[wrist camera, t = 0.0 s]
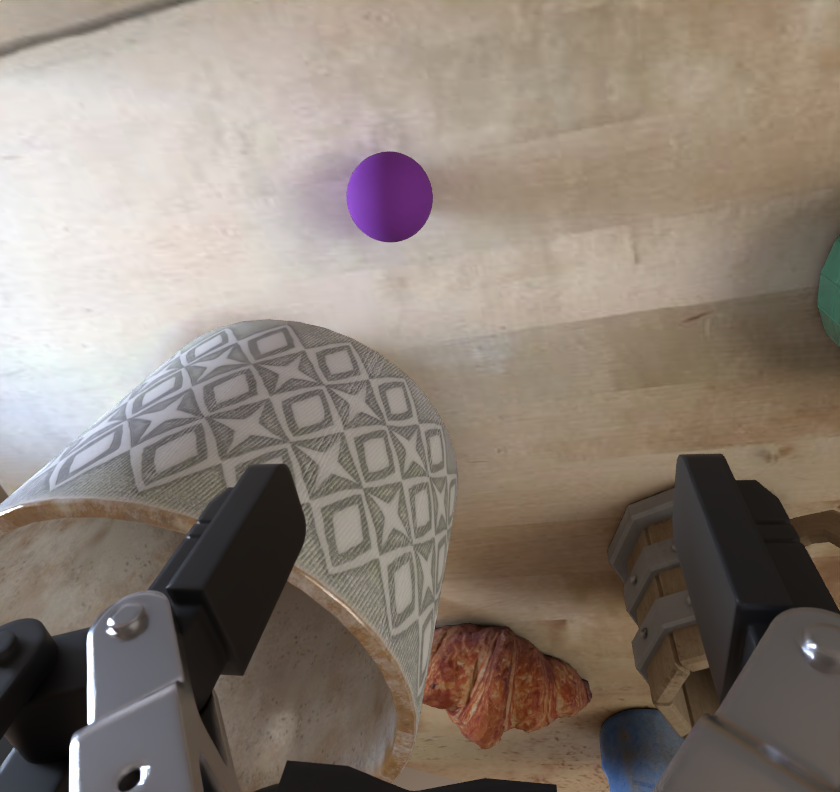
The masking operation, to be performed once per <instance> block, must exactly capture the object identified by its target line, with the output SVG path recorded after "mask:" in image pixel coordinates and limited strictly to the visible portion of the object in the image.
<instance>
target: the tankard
mask: <svg viewBox="0 0 840 792" xmlns="http://www.w3.org/2000/svg"><path fill="white" fill-rule="evenodd" d="M674 490H675V488H672V489H670V490H667V491H665V492H662V493H659V494H657V495H654V496H652V497H649V498H646V499H644V500H641V501H639V502H636V503H633V504H631V505H628V507H627V509H626V512H625V514H624V516H623V518H622V520H621V522H620V525H619V527H618V529H617V531H616V533H615V535H614V538H613V540H612V542H611V544H610V546H609V548H608V551H607V552H608V559H609V563H610V564H611V566H612V567H613V569H614V570H615V571H616V573H617V574H618V576H619V577H620V578H621V580H622V581H623V582H624V584H625V586H624V588H623V593H624V599H625V605H626V611H627V612H628V613H629V615H630V616H631V617H632V619H633V620H634V621H635V623H636V624H637V625H638V627H639V630H638V632H637V634H636V635H635V637H634V639H633V641H632V647H633V653H634V659H635V665H636V669H637V670H638V671H639V672H640V674H641V675H642V676H643V678H644V679H645V680H646V682H647V683H648V684H649V686H650V691H651V696H652V702H653V704H654V705H655V706H656V708H657V709H658V710H659V712H660V713H661V714H662V715H663V717H664V718H665V719H666V721H667V722H668V723H669V724H670V726H671V727H672V728H673V730H674V731H675V732H676V733H677V735H678V736H680V737H682V738H684V739H686V737H687V735H688V734H689V732H690V731H691V729H692V728H693V726H694V725H695V723H696V722H697V721H698V720H699V718H700V717H701V716H702V715H704V714H706V713H708V714H710V715H711V716H712V715H713V714H714V713H715V712H716V711H717V709H718V708H719V706H720V703H719V700H718V696H717V692H716V689H715V685H714V682H713V678H712V675H711V671H710V668H709V664H708V661H707V657H706V654H705V650H704V647H703V643H702V640H701V636H700V633H699V629H698V626H697V622H696V619H695V615H694V612H693V608H692V605H691V601H690V598H689V594H688V591H687V587H686V584H685V580H684V576H683V573H682V569H681V566H680V562H679V559H678V555H677V552H676V548H675V543H674V537H673V524H672V517H673V503H674ZM790 524H791V525H793V526H794V528H795V530H796V532H797V534H798V535H799V537H800V542H801V543H803V545H804V547H805V546H808V545H810V544H814V543H823V542H830V543H832V544H834V545H836V546H838V547H839V548H840V513H839V512H837V511H834V510H829V511H824V512H819V513H815V514H810V515H805V516H800V517H796V518H793V519H790Z"/></svg>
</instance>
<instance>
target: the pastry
mask: <svg viewBox="0 0 840 792" xmlns="http://www.w3.org/2000/svg"><path fill="white" fill-rule="evenodd" d="M591 698H592V693H591V691H590V689H589V684H588V681H587V680H584V679H581V678H580V676H579V675H578V673H577V672H576V670H575V669H574V668H573V667H572V666H570V665H569V664H568V663H565V662H564V661H562V660H560V659H557V658H554V657H551V656H549V655H543V654H542V653H541V651H539V650H538V649H537V648H536V647H535V646H534V645H533V644H532V643H531V642H529V641H528V640H526V639H524V638H521V637H518V636H517V635H515V634H514V633H513V631H512V630H511V629H510V628H509V627H506V626H504V627H499V626H492V627H488V626H480V625H473V624H471V623H464V624H461V625H453V626H445V627H441V628H438V629H434V635H433V641H432V647H431V653H430V659H429V665H428V671H427V677H426V683H425V689H424V695H423V701H422V703H423V704H426V705H429V706H431V707H436V708H438V709H446V711H447V713H448V715H449V717H450V719H451V720H452V722H454V723H456V724H457V726H458V727H459V729H460V731H461V733H462V734H463V735H464V736H465V737H466V738H468V739H469V740H471V741H472V742H475V743H476V744H477V745H479V747H480V748H481V749H488V748H491V747H493V746H494V745H495V744H496V743H497V742H499V741H500V740H501V736H502V734H503V732H506V731H508V730H509V729H511V728H516V729H523V730H524V731H525V732H528V733H529V732H532V731H535V730H538V729H540V728H541V727H544V726H548V725H549V723H550V722H552V721H555V720H556V719H557V718H562V717H565V716H571V715H576V714H577V713H578V711H579V710H582V709H583V708H584V707H585V706H586V705H587V704H588V703H589V702H590V700H591Z"/></svg>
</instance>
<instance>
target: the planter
mask: <svg viewBox="0 0 840 792" xmlns="http://www.w3.org/2000/svg"><path fill="white" fill-rule="evenodd" d="M282 463H284V464H286V465H287V466H288V467H289V469H290V471H291V474H292V478H293V481H294V484H295V487H296V490H297V493H298V496H299V500H300V503H301V506H302V509H303V512H304V515H305V520H306V536H305V541H304V544H303V547H302V549H301V551H300V553H299V556H298V558H297V560H296V562H295V564H294V567H293V569H292V571H291V573H290V575H289V577H288V580H287V582H286V584H285V586H284V588H283V590H282V593H281V595H280V597H279V599H278V601H277V603H276V606H275V608H274V610H273V612H272V614H271V617H270V619H269V621H268V623H267V625H266V627H265V630H264V632H263V634H262V636H261V638H260V640H259V643H258V645H257V647H256V649H255V651H254V654H253V656H252V658H251V660H250V662H249V664H248V667H247V669H246V671H245V673H244V675H243V676H235V675H220V677H219V679H218V681H217V683H216V685H215V687H214V690H215V692H216V694H217V697H218V701H219V705H220V709H221V713H222V718H223V722H224V726H225V730H226V735H227V739H228V743H229V747H230V751H231V756H232V760H233V764H234V768H235V773H236V776H237V780H238V783H239V786H240V789H241V792H254V791H256V790H258V789H261V788H264V787H267V786H270V785H273V784H278V783H279V782H280V779H281V776H282V773H283V770H284V767H285V765H286V762H287V760H290V761H301V762H312V763H323V764H334V765H345V766H350V767H352V768H355V769H357V770H360V771H362V772H364V773H367V774H369V775H372V776H374V777H376V778H379V779H381V780H384V781H386V782H389V783H391V782H392V781H394V780H395V779H396V778H397V777H398V776H399V775H400V773H401V771H402V770H403V768H404V767H405V766H406V764H407V763H408V761H409V759H410V757H411V753H412V750H413V747H414V744H415V740H416V736H417V730H418V725H419V719H420V713H421V707H422V701H423V695H424V689H425V683H426V677H427V671H428V665H429V659H430V653H431V647H432V641H433V635H434V629H435V623H436V617H437V611H438V605H439V600H440V594H441V588H442V582H443V576H444V570H445V564H446V558H447V552H448V546H449V540H450V534H451V528H452V522H453V516H454V510H455V504H456V498H457V486H458V471H457V464H456V456H455V452H454V449H453V446H452V443H451V440H450V437H449V434H448V431H447V429H446V427H445V425H444V424H443V422H442V420H441V418H440V416H439V414H438V412H437V410H436V409H435V408H434V406H433V405H432V404H431V402H430V401H429V400H428V398H427V397H426V396H425V394H424V393H423V392H422V390H421V389H420V388H419V387H418V386H417V385H416V384H415V383H414V382H413V381H412V380H411V379H410V378H409V377H408V376H407V375H406V374H405V373H404V372H403V371H402V370H401V369H399V368H398V367H397V366H395V365H394V364H393V363H391V362H390V361H389V360H387V359H386V358H385V357H383V356H382V355H380V354H379V353H378V352H376V351H374V350H372V349H370V348H369V347H367V346H365V345H363V344H361V343H359V342H358V341H356V340H354V339H352V338H350V337H347V336H344V335H342V334H339V333H336V332H334V331H331V330H329V329H326V328H322V327H318V326H313V325H309V324H305V323H300V322H294V321H281V320H257V321H243V322H239V323H235V324H231V325H227V326H223V327H219V328H217V329H214V330H212V331H210V332H208V333H206V334H203V335H201V336H199V337H197V338H195V339H194V340H193V341H191V342H190V343H189V344H187V345H186V346H184V347H183V348H182V349H180V350H179V351H178V352H177V353H175V354H174V355H173V356H172V357H171V358H170V359H168V360H167V361H166V362H165V363H164V364H163V365H161V366H160V367H159V368H158V369H157V370H156V371H155V372H153V373H152V374H151V375H150V376H149V377H148V378H146V379H145V380H144V381H143V382H142V383H141V384H139V385H138V386H137V387H136V388H135V389H134V390H132V391H131V392H130V393H129V394H128V395H127V396H125V397H124V398H123V399H122V400H121V401H120V402H119V403H117V404H116V405H115V406H114V407H113V408H112V409H110V410H109V411H108V412H107V413H106V414H105V415H103V416H102V417H101V418H100V419H99V420H98V421H96V422H95V423H94V424H93V425H92V426H91V427H89V428H88V429H87V430H86V431H85V432H84V433H83V434H81V435H80V436H79V437H78V438H77V439H76V440H74V441H73V442H72V443H71V444H70V445H69V446H67V447H66V448H65V449H64V450H63V451H62V452H60V453H59V454H58V455H57V456H56V457H55V458H53V459H52V460H51V461H50V462H49V463H48V464H47V465H45V466H44V467H43V468H42V469H41V470H40V471H38V472H37V473H36V474H35V475H34V476H33V477H31V478H30V479H29V480H28V481H27V482H26V483H24V484H23V485H22V486H21V487H20V488H19V489H17V490H16V491H15V492H14V493H13V494H12V495H11V496H9V497H8V498H7V499H6V500H5V501H4V502H2V503H1V504H0V626H2V625H4V624H6V623H9V622H12V621H15V620H19V619H25V618H33V619H37V620H39V621H41V622H42V623H43V625H44V626H45V628H46V629H47V631H48V632H49V634H50V635H51V636H55V635H59V634H63V633H68V632H72V631H76V630H80V629H84V628H88V627H91V626H92V624H93V622H94V621H95V620H96V618H97V617H98V616H99V615H100V614H101V613H102V612H103V611H104V610H105V609H106V608H107V607H109V606H110V605H111V604H113V603H114V602H116V601H118V600H119V599H121V598H123V597H125V596H127V595H130V594H132V593H136V592H139V591H146V590H148V588H149V587H150V586H151V584H152V583H153V581H154V580H155V579H156V577H157V576H158V574H159V573H160V572H161V570H162V569H163V567H164V566H165V564H166V563H167V562H168V560H169V559H170V557H171V556H172V555H173V553H174V552H175V550H176V549H177V548H178V546H179V545H180V543H181V542H182V540H183V539H186V538H187V533H188V532H189V531H190V529H191V528H192V526H193V525H194V524H197V519H198V518H199V516H200V515H201V514H202V512H203V511H204V509H205V508H206V507H207V505H208V504H209V503H210V502H211V501H212V500H213V499H215V498H216V497H217V496H218V495H220V494H221V493H222V492H223V491H225V490H226V489H227V488H228V487H234V486H235V485H236V484H237V482H238V481H239V479H240V478H241V476H242V475H243V473H244V472H245V470H246V469H247V468H248V466H250V465H252V464H282Z"/></svg>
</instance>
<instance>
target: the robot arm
mask: <svg viewBox="0 0 840 792" xmlns="http://www.w3.org/2000/svg"><path fill="white" fill-rule="evenodd" d="M672 524H673V537H674V543H675V548H676V552H677V555H678V559H679V562H680V566H681V569H682V573H683V576H684V580H685V584H686V587H687V591H688V594H689V598H690V601H691V605H692V608H693V612H694V615H695V619H696V622H697V626H698V629H699V633H700V636H701V640H702V643H703V647H704V650H705V654H706V657H707V661H708V664H709V668H710V671H711V675H712V678H713V682H714V685H715V689H716V692H717V696H718V700H719V703H720V706H719V708H718V709H717V711H716V712H715V713H714V714H713V715H712V716H711V715H710V714H708V713H706V714H704V715H702V716H701V717H700V718H699V720H698V721H697V722H696V723H695V725H694V726H693V728H692V729H691V731H690V732H689V734H688V735H687V737H686V739H685V740H684V742H683V743H682V745H681V746H680V748H679V750H678V751H677V753H676V754H675V756H674V758H673V759H672V761H671V762H670V764H669V765H668V767H667V769H666V770H665V772H664V773H663V775H662V776H661V778H660V780H659V781H658V783H657V784H656V786H655V787H654V789H653V791H652V792H840V611H839V609H838V607H837V605H836V604H835V602H834V600H833V598H832V596H831V594H830V593H829V591H828V589H827V587H826V585H825V583H824V582H823V580H822V578H821V576H820V574H819V572H818V570H817V569H816V567H815V565H814V563H813V561H812V559H811V558H810V556H809V554H808V552H807V550H806V548H805V547H804V545H803V543H801V542H800V537H799V535H798V534H797V532H796V530H795V528H794V526H793V525H791V524H790V519H789V517H788V515H787V513H786V512H785V510H784V508H783V506H782V504H781V502H780V501H779V499H778V498H777V497H776V496H775V495H773V494H772V493H771V492H770V491H768V490H767V489H766V488H765V487H764V486H762V485H761V484H760V483H759V482H757V481H756V480H735V478H734V476H733V474H732V472H731V470H730V468H729V465H728V463H727V461H726V459H725V457H724V456H723V455H722V454H686V455H679V456H678V458H677V464H676V476H675V490H674V503H673V517H672ZM305 536H306V520H305V515H304V512H303V509H302V506H301V503H300V500H299V496H298V493H297V490H296V487H295V484H294V481H293V478H292V474H291V471H290V469H289V467H288V466H287V465H286V464H284V463H282V464H252V465H250V466H248V468H247V469H246V470H245V472H244V473H243V475H242V476H241V478H240V479H239V481H238V482H237V484H236V485H235V486H234V487H228V488H227V489H226V490H225V491H223V492H222V493H221V494H220V495H218V496H217V497H216V498H215V499H213V500H212V501H211V502H210V503H209V504H208V505H207V507H206V508H205V509H204V511H203V512H202V514H201V515H200V516H199V518H198V519H197V524H194V525H193V526H192V528H191V529H190V531H189V532H188V533H187V538H186V539H183V540H182V542H181V543H180V545H179V546H178V548H177V549H176V550H175V552H174V553H173V555H172V556H171V557H170V559H169V560H168V562H167V563H166V564H165V566H164V567H163V569H162V570H161V572H160V573H159V574H158V576H157V577H156V579H155V580H154V581H153V583H152V584H151V586H150V587H149V588H148V590H146V591H139V592H136V593H132V594H130V595H127V596H125V597H123V598H121V599H119V600H118V601H116V602H114V603H113V604H111V605H110V606H109V607H107V608H106V609H105V610H104V611H103V612H102V613H101V614H100V615H99V616H98V617H97V618H96V620H95V621H94V622H93V624H92V626H91V627H88V628H84V629H80V630H76V631H72V632H68V633H63V634H59V635H55V636H51V635H50V634H49V632H48V631H47V629H46V628H45V626H44V625H43V623H42V622H41V621H39V620H37V619H33V618H25V619H19V620H15V621H12V622H9V623H6V624H4V625H2V626H0V739H1V738H2V737H3V735H4V736H5V737H6V738H7V740H8V741H9V742H10V743H11V744H12V746H13V747H14V748H13V749H12V751H11V752H10V754H9V755H8V756H7V758H6V759H5V761H4V762H3V764H2V765H1V767H0V792H241V789H240V786H239V783H238V780H237V776H236V773H235V768H234V764H233V760H232V756H231V751H230V747H229V743H228V739H227V735H226V730H225V726H224V722H223V718H222V713H221V709H220V705H219V701H218V697H217V694H216V692H215V690H214V687H215V685H216V683H217V681H218V679H219V677H220V675H235V676H243V675H244V673H245V671H246V669H247V667H248V664H249V662H250V660H251V658H252V656H253V654H254V651H255V649H256V647H257V645H258V643H259V640H260V638H261V636H262V634H263V632H264V630H265V627H266V625H267V623H268V621H269V619H270V617H271V614H272V612H273V610H274V608H275V606H276V603H277V601H278V599H279V597H280V595H281V593H282V590H283V588H284V586H285V584H286V582H287V580H288V577H289V575H290V573H291V571H292V569H293V567H294V564H295V562H296V560H297V558H298V556H299V553H300V551H301V549H302V547H303V544H304V541H305ZM254 792H557V787H556V785H553V784H542V783H531V782H520V781H509V780H498V779H487V778H484V779H479V780H473V781H468V782H463V783H458V784H452V785H447V786H442V787H436V788H431V789H426V790H421V791H409V790H406V789H403V788H400V787H398V786H396V785H393V784H391V783H389V782H386V781H384V780H381V779H379V778H376V777H374V776H372V775H369V774H367V773H364V772H362V771H360V770H357V769H355V768H352V767H350V766H345V765H334V764H323V763H312V762H301V761H290V760H287V762H286V765H285V767H284V770H283V773H282V776H281V779H280V782H279V783H278V784H273V785H270V786H267V787H264V788H261V789H258V790H256V791H254Z"/></svg>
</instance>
